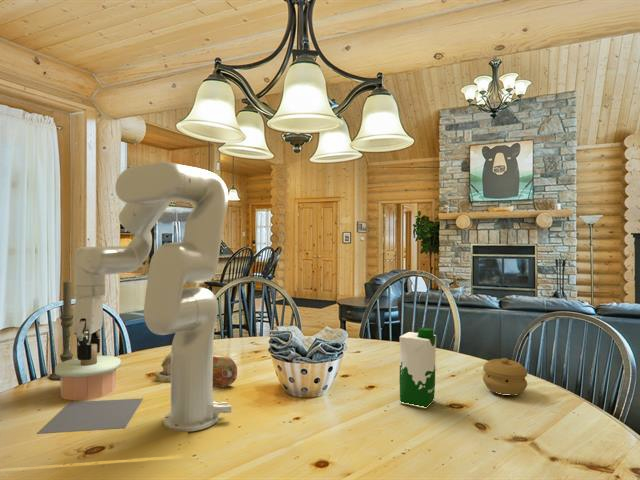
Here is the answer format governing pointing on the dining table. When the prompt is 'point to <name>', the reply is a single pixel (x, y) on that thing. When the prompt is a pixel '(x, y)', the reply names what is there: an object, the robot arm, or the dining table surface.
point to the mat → (92, 416)
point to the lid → (88, 365)
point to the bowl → (88, 386)
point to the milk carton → (417, 367)
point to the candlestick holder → (65, 325)
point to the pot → (505, 376)
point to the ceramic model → (165, 370)
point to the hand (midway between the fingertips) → (89, 355)
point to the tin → (223, 371)
